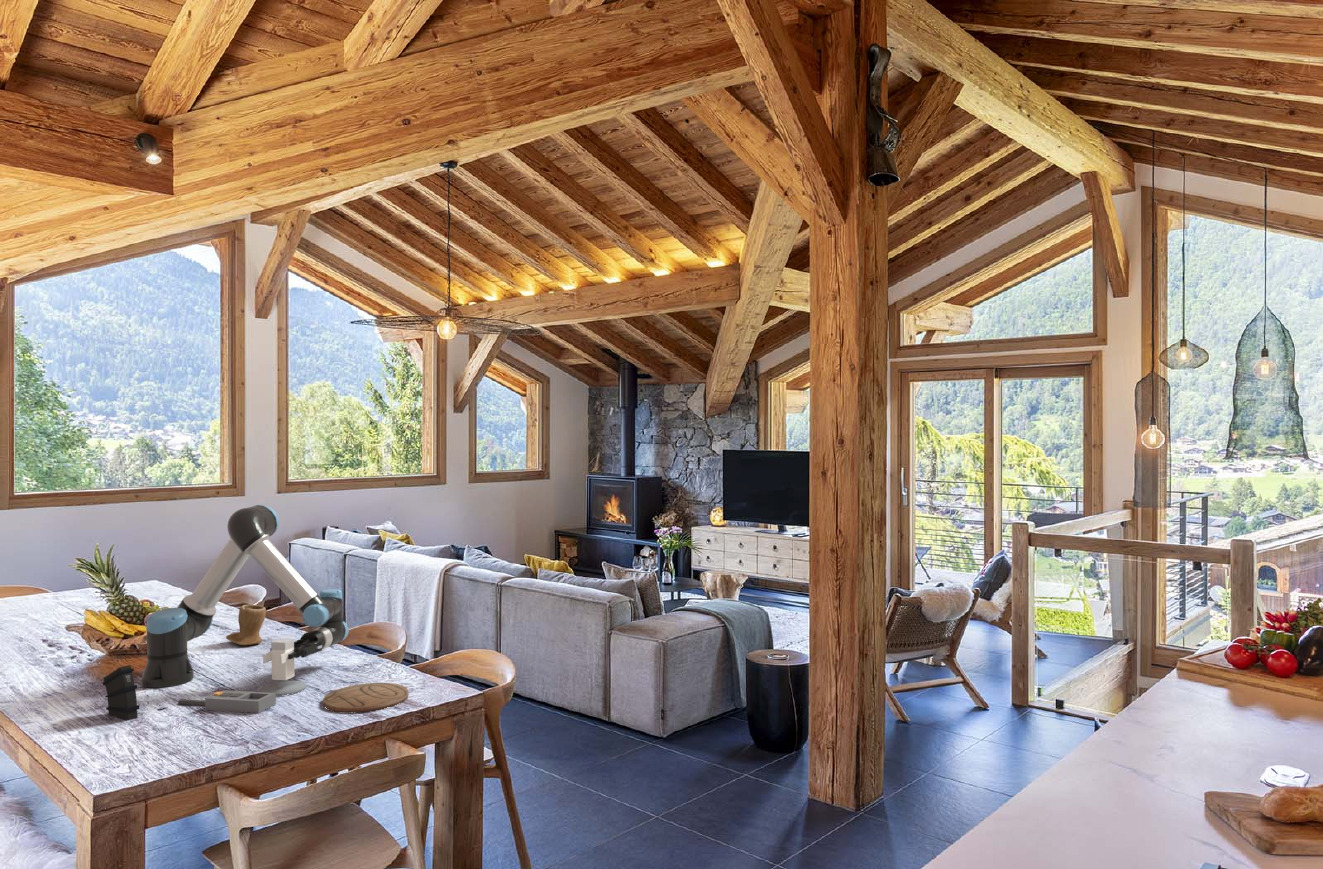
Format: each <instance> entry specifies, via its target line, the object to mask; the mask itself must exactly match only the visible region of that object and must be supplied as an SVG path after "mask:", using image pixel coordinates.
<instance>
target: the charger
mask: <svg viewBox="0 0 1323 869" xmlns="http://www.w3.org/2000/svg"><path fill="white" fill-rule="evenodd" d="M294 642H295V640H294V638H278V639H276V640H273V641H271V643H270V645H271V646H270V648H271V657H272V661H271V680H273V681H289V679H292V678H293V677H295V658H294V659H291V660H289V661H287V662H284V663H282V664H279V655H281V654H283V653H286V652H288V651H290V650H294Z"/></svg>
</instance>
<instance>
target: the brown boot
mask: <svg viewBox="0 0 1323 869" xmlns="http://www.w3.org/2000/svg"><path fill="white" fill-rule="evenodd" d="M266 615H267V609H266V607H265V606H262V605H259V604H258V605H257V604H242V606H241V607H240V608H239V610H238V616H237V617H238V618H237V620H238V627H239V631H238V632H232V633H230V634H227V635H226V636H225V639H226V640H228V641H230V642H231V643H233V644H236V645H240V646H250V645H251V646H252V645H256V644H260V643H263V639H262V638H261V636H260V631H261V628H262V626H263V623H264V622H265V619H266Z"/></svg>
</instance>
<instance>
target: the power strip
mask: <svg viewBox="0 0 1323 869" xmlns="http://www.w3.org/2000/svg"><path fill="white" fill-rule="evenodd" d="M275 704H276V705H277V697H276V693H265V692H258V691H245V690H244V691H243V690H240V691H239V690H229V689H228V690H226V689H225V690H221V691H216V692H214V693H213V694H212V695H209V696H207V697H204V700H203V699H201V700H200V699H186V698H181V699H179V700H178V705H182V706H183V705H185V706H187V705H188V706H203V707H204V708H205V709H204V710H205V711H216V712H218V711H219V712H231V713H233V712H234V713H247V712H251V713H250V714H259V712H260V713H262V712H265V711H266V710H268V709H270V708H272V707H274V706H275ZM273 705H274V706H273ZM271 706H272V707H271ZM269 707H270V708H269ZM267 708H268V709H267ZM265 709H266V710H265Z"/></svg>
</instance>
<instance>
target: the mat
mask: <svg viewBox="0 0 1323 869" xmlns="http://www.w3.org/2000/svg"><path fill="white" fill-rule="evenodd" d="M305 688H306V689H307V683H306V682H305V681H301V680H280V681H276V682H271V683H268V684H264V685H262V686H261V687H259V688H258V691H257V692H265V693H276V696H281V697H283V696H282V695H287V694H292V693H296V694H299V693H301V692H300V691H302V690H303V691H305V690H306V689H305ZM304 689H305V690H304ZM303 691H302V692H303ZM298 692H299V693H298Z"/></svg>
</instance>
